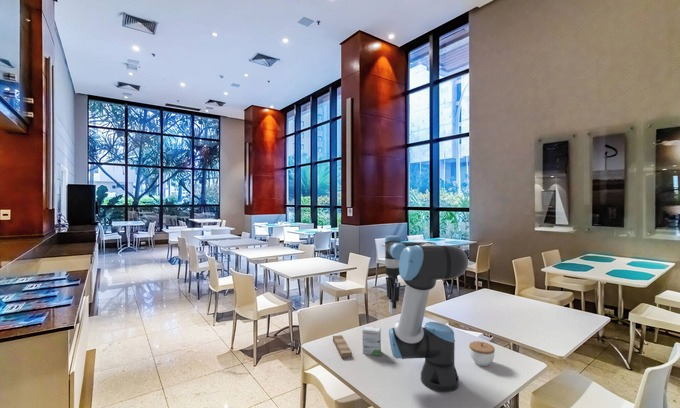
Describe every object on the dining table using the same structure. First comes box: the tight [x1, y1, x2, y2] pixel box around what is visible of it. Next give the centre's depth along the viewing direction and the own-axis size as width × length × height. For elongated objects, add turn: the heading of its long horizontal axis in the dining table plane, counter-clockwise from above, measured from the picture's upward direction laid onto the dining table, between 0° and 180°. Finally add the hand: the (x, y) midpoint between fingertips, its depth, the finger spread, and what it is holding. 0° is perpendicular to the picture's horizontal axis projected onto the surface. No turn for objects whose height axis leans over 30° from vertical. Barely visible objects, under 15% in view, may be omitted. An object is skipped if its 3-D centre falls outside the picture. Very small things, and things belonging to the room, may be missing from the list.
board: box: [332, 334, 353, 360], centre depth 162 cm, size 20×5×2 cm, turn 13°
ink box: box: [362, 326, 382, 356], centre depth 158 cm, size 9×5×12 cm, turn 75°
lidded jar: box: [468, 340, 496, 367], centre depth 148 cm, size 11×11×9 cm
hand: (392, 313), depth 161 cm, fingers open, 2 cm apart
